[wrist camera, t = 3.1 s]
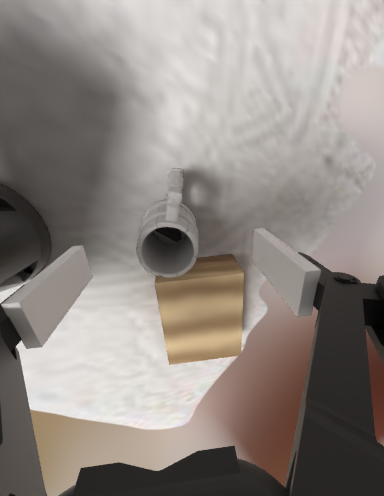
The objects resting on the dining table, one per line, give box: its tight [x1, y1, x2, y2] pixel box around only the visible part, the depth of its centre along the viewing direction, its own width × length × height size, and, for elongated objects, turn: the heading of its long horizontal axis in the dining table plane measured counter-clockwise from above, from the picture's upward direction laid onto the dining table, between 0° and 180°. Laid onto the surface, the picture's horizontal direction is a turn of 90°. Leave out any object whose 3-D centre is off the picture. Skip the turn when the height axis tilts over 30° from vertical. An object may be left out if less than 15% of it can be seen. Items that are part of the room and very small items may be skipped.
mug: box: [136, 168, 199, 278], centre depth 23 cm, size 8×12×12 cm, turn 171°
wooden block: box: [155, 254, 244, 365], centre depth 32 cm, size 16×12×6 cm
